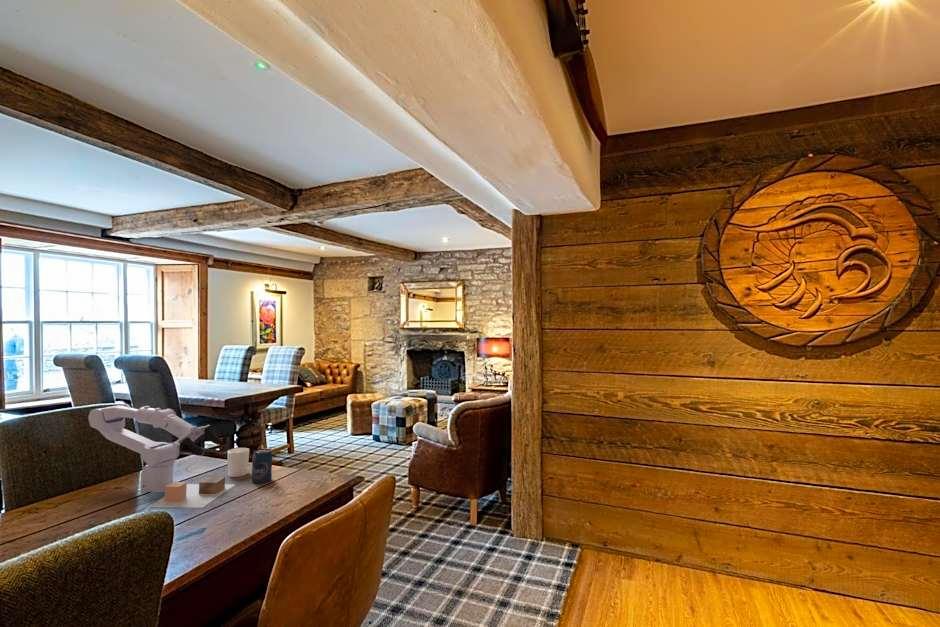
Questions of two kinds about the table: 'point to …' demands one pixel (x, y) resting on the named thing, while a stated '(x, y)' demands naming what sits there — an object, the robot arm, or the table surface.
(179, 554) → the table surface
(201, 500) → the white flat board
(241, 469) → the white cup
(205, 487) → the base block
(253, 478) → the soda can
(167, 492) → the top block
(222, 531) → the table surface
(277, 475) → the table surface
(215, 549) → the table surface
